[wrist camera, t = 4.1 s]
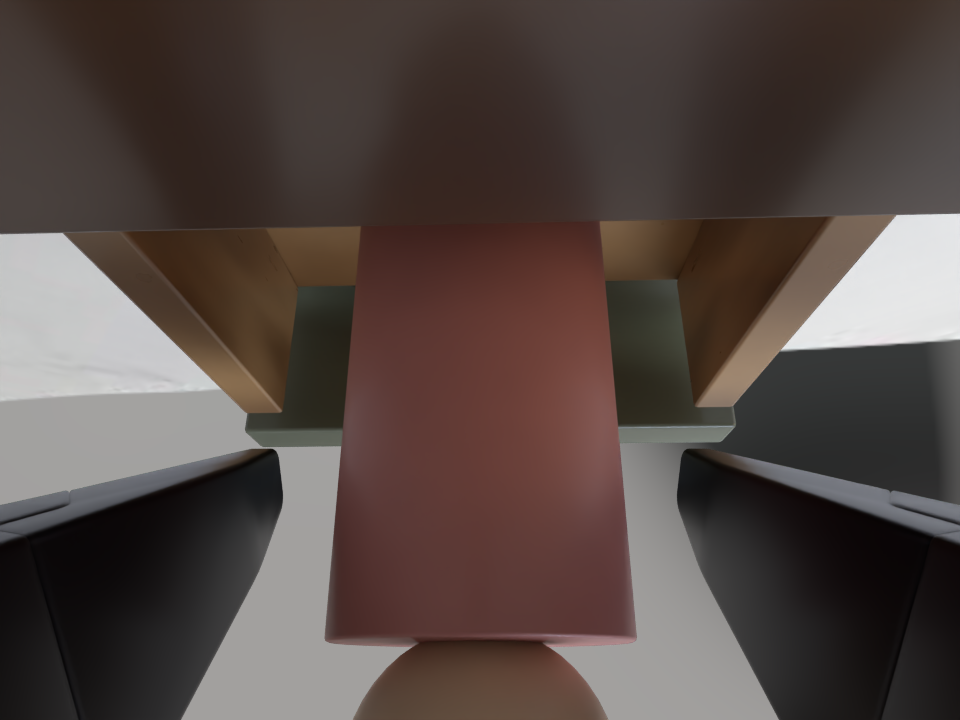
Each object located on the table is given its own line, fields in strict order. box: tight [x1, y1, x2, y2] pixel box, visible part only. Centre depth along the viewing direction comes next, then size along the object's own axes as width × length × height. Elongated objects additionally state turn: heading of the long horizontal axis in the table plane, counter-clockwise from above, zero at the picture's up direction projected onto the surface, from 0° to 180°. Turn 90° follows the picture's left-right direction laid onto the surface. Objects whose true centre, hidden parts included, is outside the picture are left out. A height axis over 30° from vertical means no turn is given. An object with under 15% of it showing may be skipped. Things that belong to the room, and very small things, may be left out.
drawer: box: [63, 215, 896, 447], centre depth 12 cm, size 13×11×4 cm
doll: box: [325, 221, 637, 720], centre depth 10 cm, size 4×4×11 cm
